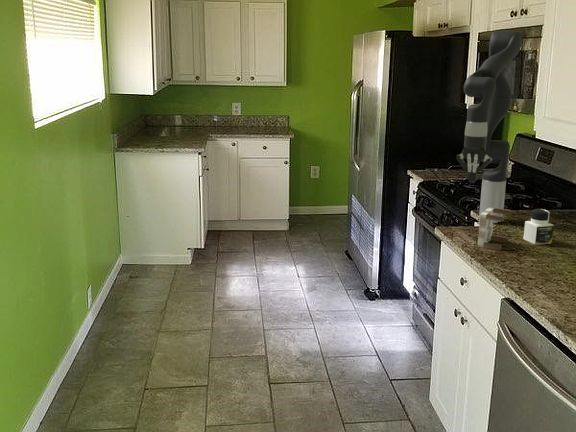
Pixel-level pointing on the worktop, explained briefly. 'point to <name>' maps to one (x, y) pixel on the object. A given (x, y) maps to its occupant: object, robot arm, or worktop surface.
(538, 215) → the medicine bottle
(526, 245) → the worktop surface
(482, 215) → the footstool
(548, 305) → the worktop surface
